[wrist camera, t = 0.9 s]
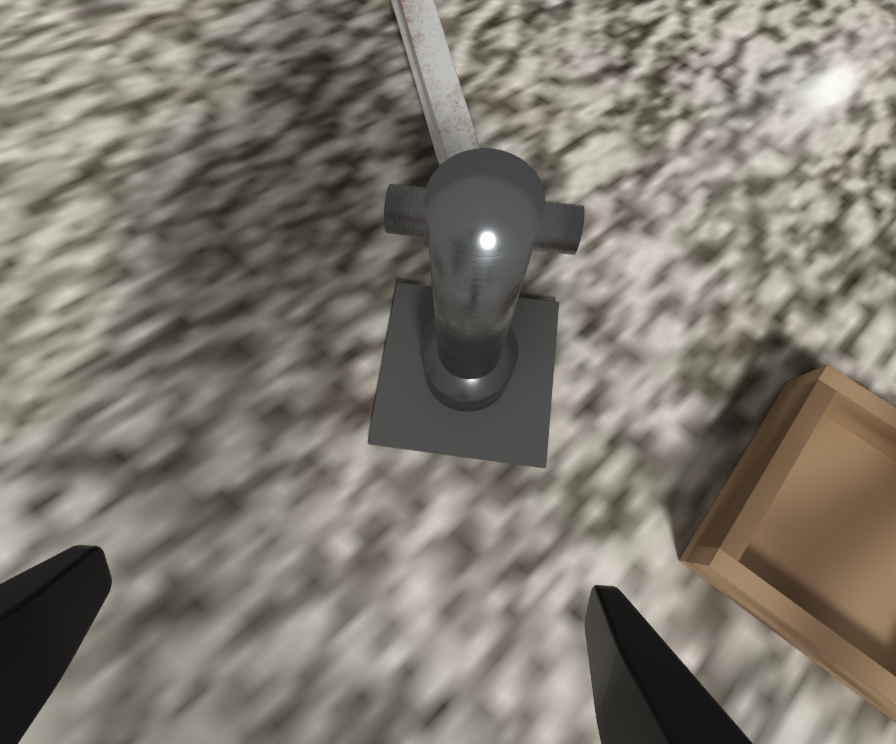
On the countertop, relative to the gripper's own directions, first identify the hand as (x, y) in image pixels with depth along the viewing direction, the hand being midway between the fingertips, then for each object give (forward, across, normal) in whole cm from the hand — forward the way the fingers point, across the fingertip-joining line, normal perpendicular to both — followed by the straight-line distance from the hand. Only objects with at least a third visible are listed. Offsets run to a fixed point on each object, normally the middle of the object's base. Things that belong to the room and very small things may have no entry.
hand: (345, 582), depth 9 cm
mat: (+15, -2, +2) cm, 15 cm away
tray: (+11, -19, +7) cm, 23 cm away
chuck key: (+15, -2, +2) cm, 15 cm away
